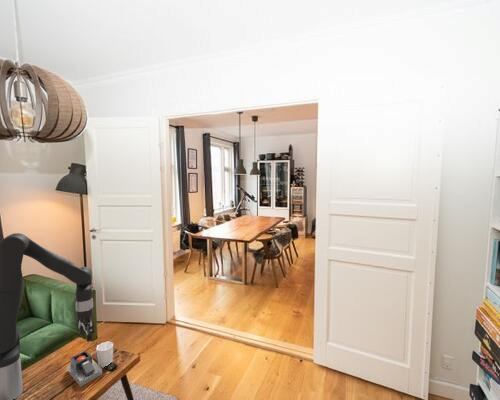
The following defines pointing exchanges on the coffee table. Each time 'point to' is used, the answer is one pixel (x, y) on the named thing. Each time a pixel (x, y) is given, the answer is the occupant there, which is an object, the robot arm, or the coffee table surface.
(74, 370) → the grey switch box
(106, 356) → the white cup
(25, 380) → the coffee table surface
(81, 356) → the button
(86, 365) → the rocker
